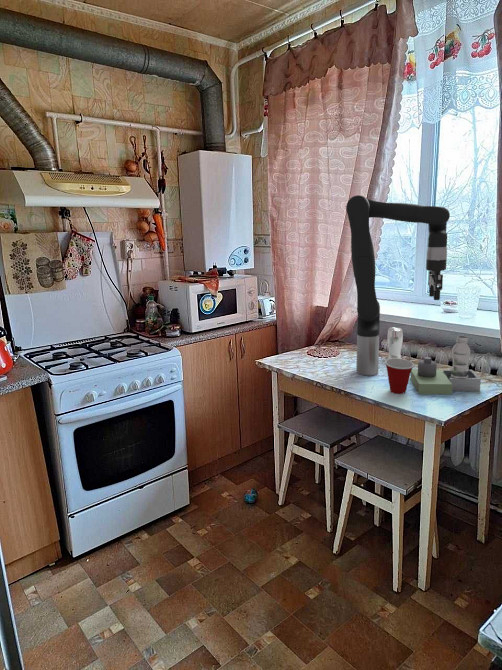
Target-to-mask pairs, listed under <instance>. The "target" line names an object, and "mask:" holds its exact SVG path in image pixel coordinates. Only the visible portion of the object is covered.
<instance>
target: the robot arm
mask: <svg viewBox="0 0 502 670" xmlns="http://www.w3.org/2000/svg"><path fill="white" fill-rule="evenodd" d="M345 209H346V210H345V211H346V214H347V218H348V223H349V227H350V253H351V263H352V271H353V277H354V282H355V286H356V294H357V295H356V296H357V297H356V301H357V303H356V305H357V306H356V312H357V325H356V327H357V329H356V332H357V333H356V334H357V335H356V364H355V365H356V369H355V370H356V373H357V374H356V375H362V376H375V375H378V374H379V357H380V355H379V354H380V352H379V351H380V326H381V325H380V322H381V321H380V320H381V319H380V318H381V317H380V316H381V315H380V314H381V312H380V311H381V306H380V302H379V301H378V299H377V293H376V283H375V282H376V259H375V258H376V257H375V250H374V243H373V240H372V236H371V231H370V218H378V219H387V220H392V221H397V222H405V223H413V224H414V223H416V224H417V223H418V224H419V223H420V224H428V238H427V239H428V240H427V250H426V264H425V271H426V270H427V271H428V283H427V285H428V287H429V291H428V293H429V294H428V296H429V297H433V301H440V299H441V291H442V290H443V281H444V279H443V277H444V275H443V274H442V273H441V272H442V271H443V272H444V271H446V270H447V261H448V234H447V222H448V221H449V220H450V217H451V216H450V211H449V210H448V209H447V208H446V207H445V206H437V205H436V206H434V205H422V204H418V203H417V204H416V203H405V202H386V201H385V202H384V201H376V200H373V199H370V198H366V197H365V196H363V195H353V196H352V197H350V198H349V199H348V201H347V203H346V206H345Z"/></svg>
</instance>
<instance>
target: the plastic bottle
mask: <svg viewBox="0 0 502 670" xmlns="http://www.w3.org/2000/svg"><path fill="white" fill-rule="evenodd" d="M468 341H469V340H468V336H466V335H465V336H464V335H458V336H456V343H455V344H454V345H453V347H452V349H451V356H452V369H451V370H452V374H451V378H469V377H468V370H469V360H470V356H471V348H470V346H469V345H468V344H467V343H468Z"/></svg>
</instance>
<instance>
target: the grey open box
mask: <svg viewBox="0 0 502 670" xmlns="http://www.w3.org/2000/svg"><path fill="white" fill-rule="evenodd" d="M442 371H443V372H444V374H445V375H446V376H447V378H448V379H449V380H450V382H451V383H452V392H481V381H482V379H481V378H480V377H479V375H478V374H477V373H476V372H475V371H474V370H473V369H468V377H469V378H451V374H452V369H442Z"/></svg>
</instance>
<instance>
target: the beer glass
mask: <svg viewBox="0 0 502 670" xmlns="http://www.w3.org/2000/svg"><path fill="white" fill-rule="evenodd" d="M386 337H387V341H386V342H387V346H388V347H387V349H388V357H387V359H391V358H398V359H402V357H401V351H402V348H403V347H402V346H403V340H404V334H403V328H401V327H389V328H387V335H386Z"/></svg>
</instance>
